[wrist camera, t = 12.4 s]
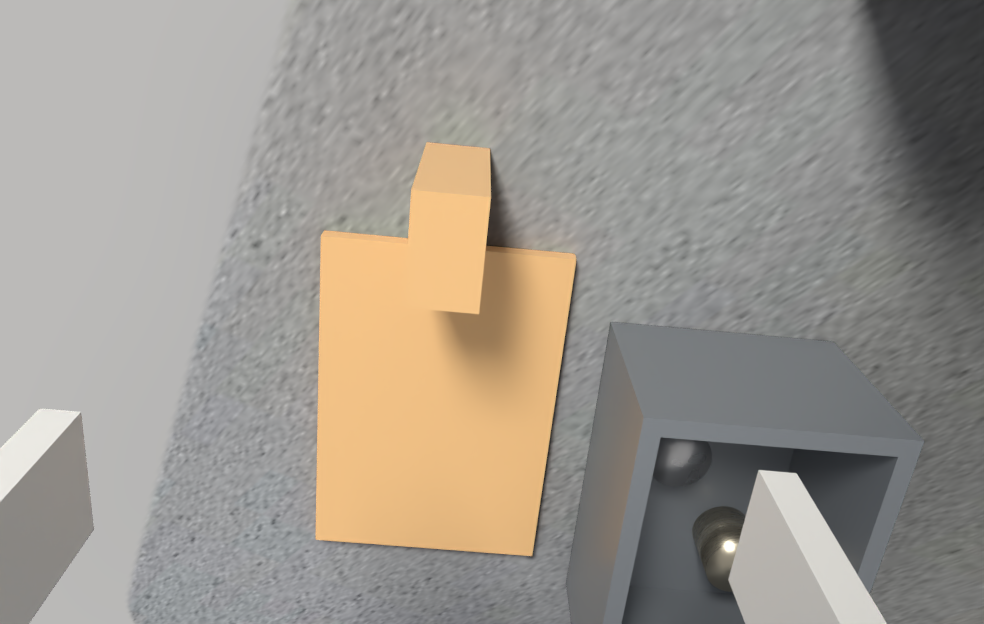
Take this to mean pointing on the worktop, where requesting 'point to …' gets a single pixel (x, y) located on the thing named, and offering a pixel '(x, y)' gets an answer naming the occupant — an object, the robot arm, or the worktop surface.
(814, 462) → the tub
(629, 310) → the worktop surface
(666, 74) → the worktop surface
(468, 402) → the lid
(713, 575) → the part
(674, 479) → the part
